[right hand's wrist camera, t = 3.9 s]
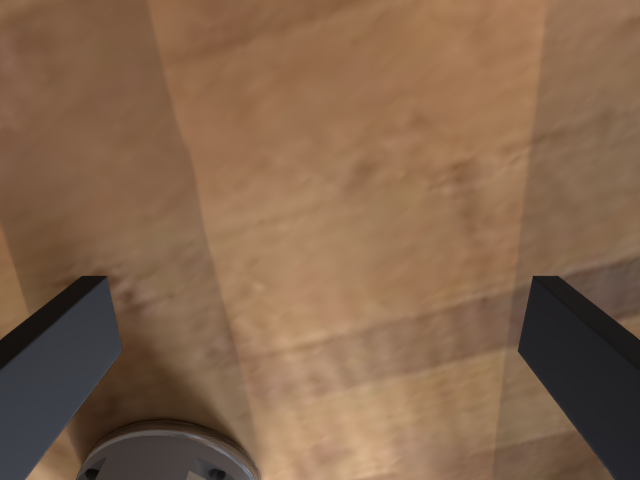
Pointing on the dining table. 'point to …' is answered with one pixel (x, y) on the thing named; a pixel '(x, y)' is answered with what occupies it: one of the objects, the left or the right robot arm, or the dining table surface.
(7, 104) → the dining table surface
